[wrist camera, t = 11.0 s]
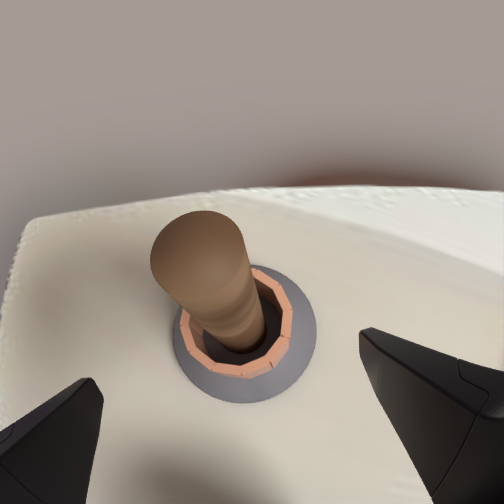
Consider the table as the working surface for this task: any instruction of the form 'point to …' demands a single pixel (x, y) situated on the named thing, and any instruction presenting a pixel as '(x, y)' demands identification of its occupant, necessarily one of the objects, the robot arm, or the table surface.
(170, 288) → the walnut rail post
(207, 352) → the ring
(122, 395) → the table surface
